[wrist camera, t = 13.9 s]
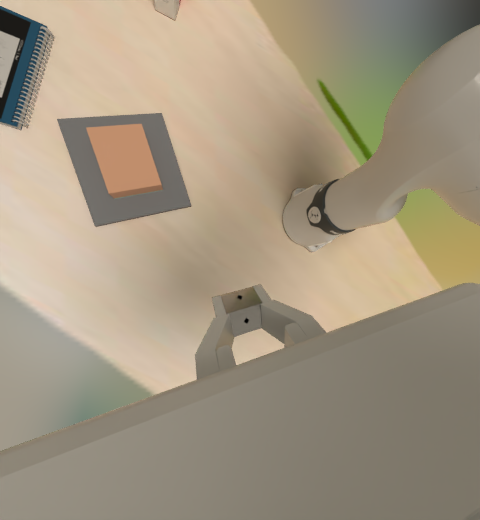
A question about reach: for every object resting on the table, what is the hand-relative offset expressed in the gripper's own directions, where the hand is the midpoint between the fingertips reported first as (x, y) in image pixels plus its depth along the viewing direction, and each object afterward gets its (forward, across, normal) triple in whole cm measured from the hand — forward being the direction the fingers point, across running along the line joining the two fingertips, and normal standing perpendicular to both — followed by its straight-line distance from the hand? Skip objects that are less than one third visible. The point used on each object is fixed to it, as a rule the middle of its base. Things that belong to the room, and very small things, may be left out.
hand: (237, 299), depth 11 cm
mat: (+42, +12, -8) cm, 44 cm away
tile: (+37, +11, -3) cm, 39 cm away
